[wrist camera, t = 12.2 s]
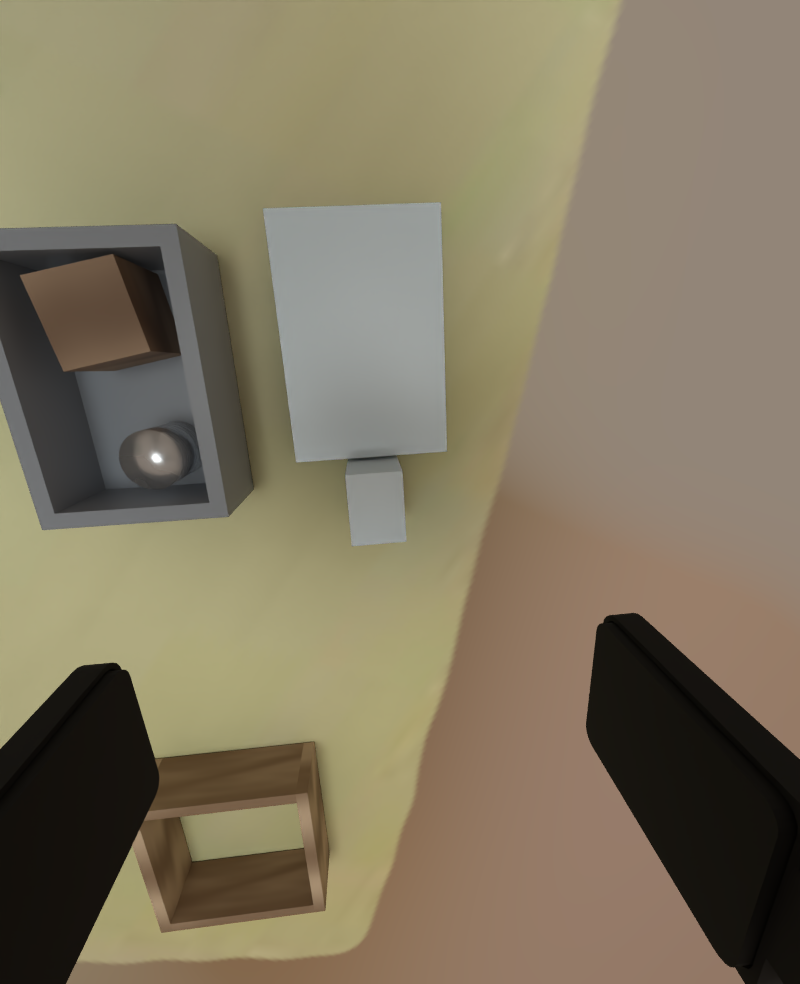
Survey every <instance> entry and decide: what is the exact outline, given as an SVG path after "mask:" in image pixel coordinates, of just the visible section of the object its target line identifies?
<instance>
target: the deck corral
mask: <svg viewBox="0 0 800 984" xmlns="http://www.w3.org/2000/svg"><path fill="white" fill-rule="evenodd" d="M155 761H156V764H157V768H158V771H159V787H158V791H157V794H156V796H155V799H154V801H153V803H152V805H151V807H150V809H149V811H148V813H147V815H146V817H145V819H144V822H143V824H142V826H141V828H140V830H139V832H138V834H137V836H136V838H135V840H134V842H133V845H132V846H133V849H134V852H135V855H136V858H137V861H138V864H139V867H140V870H141V873H142V876H143V879H144V882H145V885H146V888H147V891H148V894H149V897H150V900H151V903H152V906H153V909H154V912H155V915H156V918H157V921H158V924H159V927H160V930H161V933H163V932H171V931H178V930H185V929H193V928H200V927H208V926H215V925H223V924H230V923H238V922H245V921H252V920H260V919H267V918H275V917H282V916H290V915H297V914H305V913H312V912H319V911H325V908H326V894H327V880H328V866H329V845H328V838H327V830H326V823H325V816H324V809H323V801H322V794H321V787H320V780H319V773H318V765H317V758H316V751H315V744H314V742H309V743H300V744H290V745H281V746H272V747H262V748H253V749H244V750H235V751H225V752H216V753H207V754H198V755H188V756H179V757H170V758H160V759H155ZM293 803H297V807H298V813H299V819H300V825H301V831H302V837H303V844H304V849H296V850H288V851H280V852H272V853H264V854H256V855H248V856H240V857H232V858H223V859H215V860H207V861H199V862H192V861H191V857H190V854H189V850H188V847H187V843H186V839H185V836H184V832H183V829H182V825H181V822H180V818H179V817H182V816H190V815H199V814H207V813H216V812H225V811H233V810H242V809H250V808H259V807H267V806H276V805H284V804H293Z"/></svg>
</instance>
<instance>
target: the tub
mask: <svg viewBox="0 0 800 984" xmlns="http://www.w3.org/2000/svg"><path fill="white" fill-rule="evenodd" d="M110 254H114V255H116V256H119V257H121V258H123V259H125V260H127V261H130V262H132V263H134V264H136V265H138V266H141V267H143V268H145V269H147V270H149V271H152V272H154V273H156V274H158V276H159V279H160V282H161V284H162V287H163V290H164V293H165V295H166V298H167V301H168V304H169V306H170V309H171V312H172V315H173V317H174V320H175V325H176V331H177V336H178V341H179V346H180V351H181V356H177V357H172V358H168V359H164V360H160V361H155V362H151V363H147V364H143V365H138V366H134V367H130V368H126V369H121V370H117V371H75V372H63V369H62V367H61V365H60V363H59V361H58V358H57V356H56V354H55V352H54V350H53V347H52V345H51V343H50V341H49V339H48V336H47V334H46V332H45V330H44V328H43V325H42V323H41V321H40V319H39V317H38V314H37V312H36V310H35V308H34V306H33V303H32V301H31V299H30V297H29V295H28V292H27V290H26V288H25V286H24V284H23V281H22V279H21V277H20V275H23V274H28V273H32V272H36V271H41V270H45V269H49V268H54V267H58V266H62V265H67V264H71V263H75V262H80V261H84V260H88V259H93V258H97V257H101V256H106V255H110ZM0 401H1V404H2V407H3V410H4V413H5V416H6V420H7V423H8V426H9V429H10V432H11V435H12V438H13V441H14V444H15V447H16V450H17V454H18V457H19V460H20V463H21V466H22V469H23V472H24V475H25V478H26V481H27V485H28V488H29V491H30V494H31V497H32V500H33V503H34V506H35V509H36V512H37V515H38V519H39V522H40V525H41V528H42V530H51V529H65V528H79V527H93V526H107V525H121V524H135V523H149V522H163V521H177V520H191V519H205V518H219V517H229V516H230V515H231V514H232V513H233V511H234V510H235V509H236V508H237V507H238V506H239V505H240V504H241V503H242V502H243V500H244V499H245V498H246V497H247V496H248V495H249V494H250V493H251V492H252V491H253V490H254V487H253V481H252V475H251V468H250V462H249V456H248V449H247V443H246V437H245V430H244V424H243V418H242V411H241V405H240V398H239V392H238V386H237V379H236V373H235V367H234V360H233V354H232V348H231V341H230V335H229V329H228V322H227V316H226V310H225V303H224V297H223V290H222V284H221V278H220V271H219V265H218V259H217V255H216V254H215V253H213V252H212V251H211V250H209V249H208V248H207V247H206V246H204V245H203V244H202V243H200V242H199V241H198V240H196V239H195V238H194V237H192V236H191V235H190V234H189V233H187V232H186V231H185V230H183V229H182V228H181V227H179V226H178V225H177V224H153V225H114V226H76V227H38V228H0ZM170 422H184V423H188V424H190V425H192V426H194V427H195V430H196V435H197V440H198V445H199V451H200V456H201V461H202V466H201V467H200V468H198V469H197V470H195V471H194V472H192V473H190V474H189V475H187V476H185V477H184V478H182V479H180V480H179V481H177V482H175V483H174V484H172V485H170V486H169V487H166V488H163V489H148V488H144V487H141V486H139V485H137V484H136V483H134V482H133V481H131V480H130V479H129V478H128V477H127V476H126V474H125V473H124V471H123V470H122V468H121V465H120V462H119V450H120V446H121V444H122V442H123V441H124V440H125V439H126V438H127V437H128V436H129V435H131V434H132V433H135V432H137V431H141V430H145V429H148V428H152V427H155V426H159V425H163V424H166V423H170Z"/></svg>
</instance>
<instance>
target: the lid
mask: <svg viewBox="0 0 800 984" xmlns="http://www.w3.org/2000/svg"><path fill="white" fill-rule="evenodd" d="M263 213H264V220H265V228H266V236H267V243H268V251H269V259H270V266H271V274H272V282H273V289H274V297H275V304H276V312H277V320H278V327H279V335H280V343H281V350H282V358H283V366H284V373H285V381H286V389H287V396H288V404H289V411H290V419H291V427H292V434H293V442H294V450H295V457H296V462H309V461H323V460H337V459H348V462H347V468H346V473H345V480H346V490H347V501H348V511H349V521H350V532H351V542H352V546H361V545H373V544H384V543H396V542H406V524H405V506H404V488H403V471H402V468H401V466H400V463H399V461H398V458H397V455H406V454H420V453H434V452H447V433H446V392H445V351H444V310H443V269H442V228H441V202H436V203H406V204H376V205H346V206H316V207H286V208H263Z"/></svg>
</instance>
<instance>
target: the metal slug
mask: <svg viewBox="0 0 800 984" xmlns="http://www.w3.org/2000/svg"><path fill="white" fill-rule="evenodd" d="M119 462H120V465H121V468H122V470H123V471H124V473H125V474H126V476H127V477H128V478H129V479H130V480H131V481H133V482H134V483H136V484H137V485H139V486H141V487H144V488H148V489H163V488H166V487H169V486H170V485H172V484H174V483H175V482H177V481H179V480H180V479H182V478H184V477H185V476H187V475H189V474H190V473H192V472H194V471H195V470H197V469H198V468H200V467H201V466H202V461H201V456H200V451H199V445H198V440H197V435H196V430H195V427H194V426H192V425H190V424H188V423H184V422H170V423H166V424H163V425H159V426H155V427H152V428H148V429H145V430H141V431H137V432H135V433H132V434H131V435H129V436H128V437H127V438H126V439H125V440H124V441H123V442H122V444H121V446H120V450H119Z"/></svg>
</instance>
